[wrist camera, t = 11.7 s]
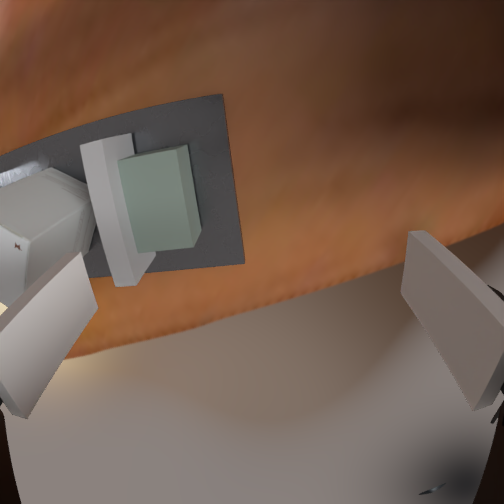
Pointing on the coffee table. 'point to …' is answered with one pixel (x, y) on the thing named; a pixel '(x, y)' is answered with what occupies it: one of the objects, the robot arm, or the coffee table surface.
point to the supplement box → (41, 227)
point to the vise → (148, 139)
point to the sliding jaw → (140, 203)
